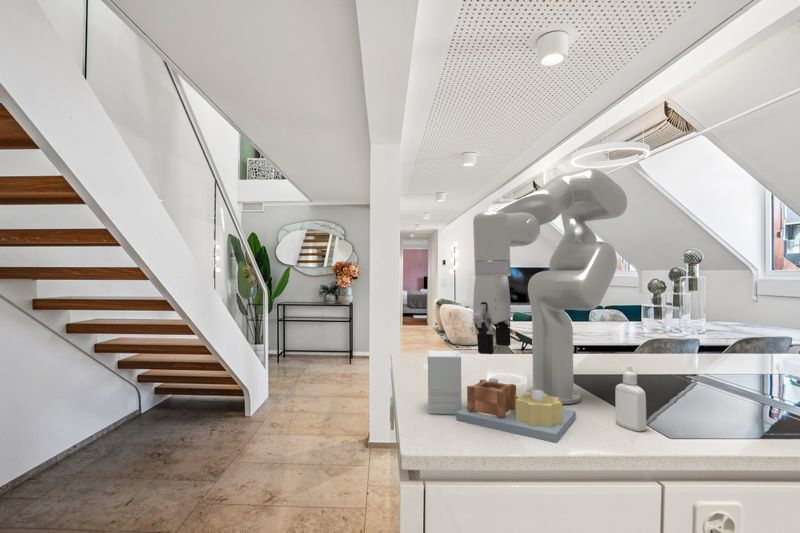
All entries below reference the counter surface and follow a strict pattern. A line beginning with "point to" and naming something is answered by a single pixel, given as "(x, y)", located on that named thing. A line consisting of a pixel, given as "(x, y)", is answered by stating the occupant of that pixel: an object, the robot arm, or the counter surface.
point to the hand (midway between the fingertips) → (494, 349)
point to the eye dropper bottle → (630, 403)
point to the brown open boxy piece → (491, 398)
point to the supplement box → (444, 382)
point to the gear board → (519, 425)
